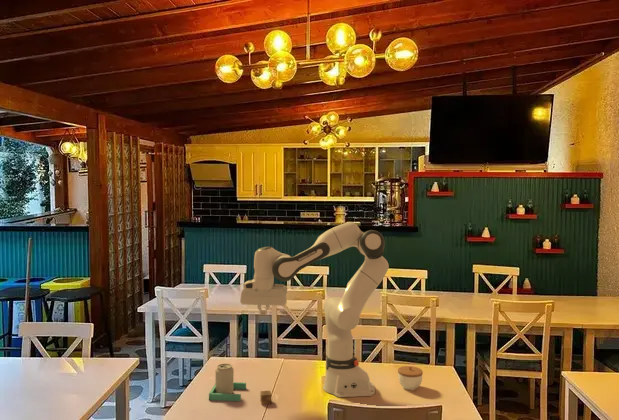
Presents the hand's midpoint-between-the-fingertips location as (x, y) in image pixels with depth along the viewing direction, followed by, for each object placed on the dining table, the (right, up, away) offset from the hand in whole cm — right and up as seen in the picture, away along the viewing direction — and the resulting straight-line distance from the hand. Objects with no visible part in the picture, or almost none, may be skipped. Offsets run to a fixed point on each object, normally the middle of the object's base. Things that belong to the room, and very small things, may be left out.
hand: (263, 314), depth 221 cm
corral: (-14, -32, -10) cm, 36 cm away
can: (-16, -32, -9) cm, 36 cm away
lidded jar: (+65, -32, 0) cm, 72 cm away
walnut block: (+3, -32, -17) cm, 37 cm away
